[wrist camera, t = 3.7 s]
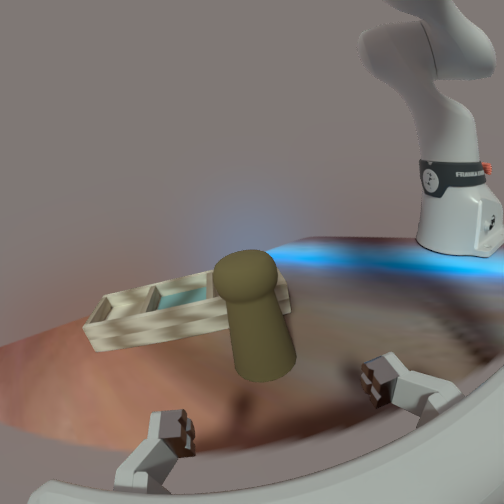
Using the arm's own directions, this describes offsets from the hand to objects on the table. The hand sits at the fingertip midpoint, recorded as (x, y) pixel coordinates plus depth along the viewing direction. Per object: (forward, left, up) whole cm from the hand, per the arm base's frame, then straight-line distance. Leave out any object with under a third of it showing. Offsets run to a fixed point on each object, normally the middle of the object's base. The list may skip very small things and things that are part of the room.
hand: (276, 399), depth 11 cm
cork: (0, -12, -9) cm, 15 cm away
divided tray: (+8, -24, -9) cm, 27 cm away
